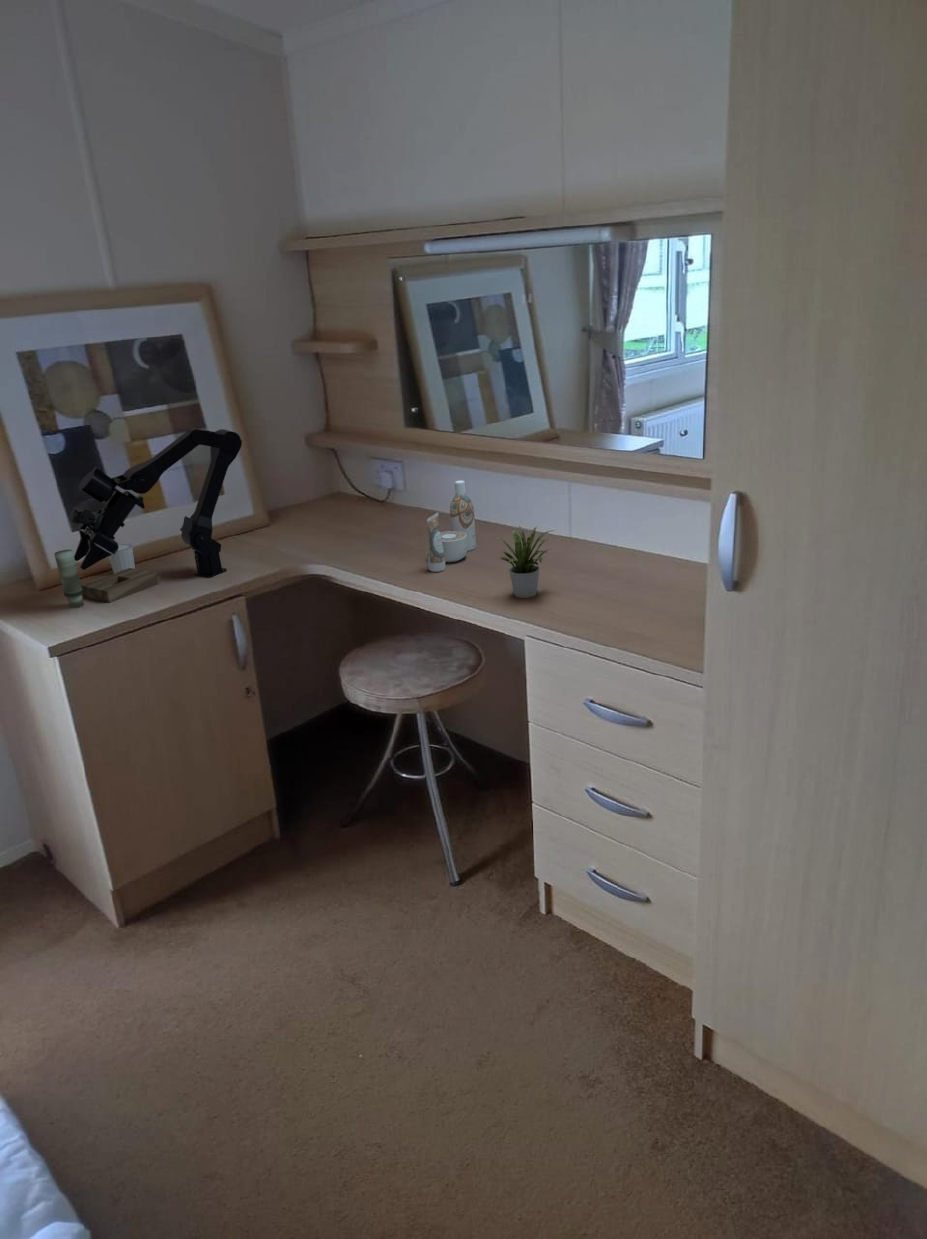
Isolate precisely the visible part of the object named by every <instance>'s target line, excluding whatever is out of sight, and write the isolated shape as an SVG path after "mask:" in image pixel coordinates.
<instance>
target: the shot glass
mask: <svg viewBox="0 0 927 1239" xmlns="http://www.w3.org/2000/svg"><path fill="white" fill-rule="evenodd" d="M118 547H119V549H118V550H117V551H116V553H115V554H112V553H111V552H110V553H111V554H112V555H111V556H108V557H107V558H108V559H109V562H110V566H111V569H112V572H113V574H114V573H117V572H120V571H123V570H126V569H128V568H133V569H136V566H135V564H136V563H135V558H134V551H133V550H134V548H133V545H132V544H129V543H127V544H125V543H124V544H118Z"/></svg>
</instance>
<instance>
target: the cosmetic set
mask: <svg viewBox="0 0 927 1239" xmlns="http://www.w3.org/2000/svg"><path fill="white" fill-rule="evenodd" d="M454 490H455V491H454V492H455V495H454V496H453V499H452V500H451V502H450V506H449V516H450V531H449V530H447V531H446V530H445V531H441V530H440V524H439V512H438V511H437V512H436V513H435V514H433V515H431V516H430V517H428V518H427V519H426V522H427V531H428V532H427V568H428V570H429V571H430V572H433V573H439V572H442V571H444V570H445V569H446V563H455V562H458V561H460V560H462V559H463V558H464V557H465V556H466V554H467V552H470V551H474V550H475V549H476V548H477V538H476V536H477V535H476V522H475V521H476V520H475V509H474V508H475V507H474V504H473V502H472V500H471V498H470V497H469V496H468V495H467V492H466V490H467V489H466V482H465V480H456V481H454Z"/></svg>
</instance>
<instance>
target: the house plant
mask: <svg viewBox="0 0 927 1239" xmlns="http://www.w3.org/2000/svg"><path fill="white" fill-rule="evenodd" d="M518 528H519V529H517V531H518V532H519V534H518V533H517V531H516V530H515V529H513V528H511V531H512V536H513V542H514V546H515V547H514V549H513V548H512V547H511V546H510V545H509V544H508V543H507V542H506V541H505V540H503V538H500V537H498V536H495V535H494V536H493V537H494V538H497V539H499V540H500V541H501V542H502V543H503V544H504V545H505V546H506V547H507V548H508V549H509V551H510V552H511V553H512V554H513V555H511V554H510V553H508V551H506V550H502V549H501V552H502V553H504V555H505V556H506V557H505V556H501V557H498V559H499V560H502V561H505V562H507V563H510V564H511V565H512V566H510V567H509V569H508V571H509V577H510V580H511V586H512V590H513V594H514V597H516V598H521V599H529V598H532V597H535V596H536V595H537V591H538V585H539V583H538V582H539V576H540V567H539V562H540V563H541V562H542V560H543V557H542V555H544V554H545V553H546V554H548V551H549V550H551V548H546V549H544V550H539V549H540V548H541V546H543V544H544V543H545V542H548V541H549V540H552V539H553V538H551V537H550V538H546V539H542V538H543V537H544V536H546V535H547V534H548V533H550V532H554V531H555V530H554V529H551V530H548V531H545V532H542V534H541V535H539V536H538V537H537V538H536V540H535V542H533V541H534V539H535V536H536V530H537V526H535V527H533V529H532V530H531V532H530V535H529V536H528V537H527V538H526V535H525V532H524V530H523V528H522V527H521V526H520V525H518ZM539 541H540V544H539ZM541 541H542V542H541ZM533 543H534V544H533ZM537 544H539V545H538V546H537ZM535 547H537V549H535ZM534 549H535V552H534V553H533V551H534ZM552 549H554V548H553V547H552ZM538 554H539V555H538ZM537 555H538V557H537V558H535V557H536V556H537ZM513 556H514V557H513ZM515 558H516V559H515ZM537 561H538V562H537Z"/></svg>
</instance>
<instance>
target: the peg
mask: <svg viewBox="0 0 927 1239" xmlns="http://www.w3.org/2000/svg"><path fill="white" fill-rule="evenodd" d="M74 555H75V553H74V550H73V549H63V550H58V551H56V552H54V558H55V561H56V562H55V563H56V566H57V569H58V573H59V578H60V581H61V582H60V583H61V586H62V590H63V595H64V597H65V598H66V599H67V602H68V607H69V608H70V607H71V608H70V609H77V607H78V608H81V607H83V606H84V605H85V603H84V602H85V601H84V598H83V589H82V587H81V585H82V584H81V583H82V582H81V580H80V574H79V571H78V567H77V563H76V562H77V561H75V558H74ZM80 606H81V607H80Z"/></svg>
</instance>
